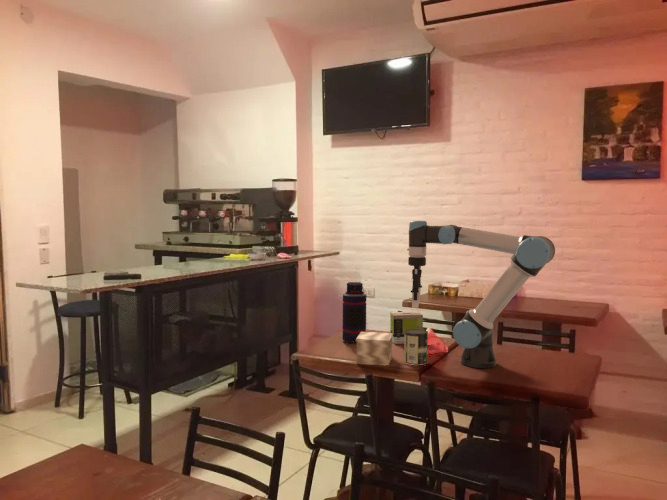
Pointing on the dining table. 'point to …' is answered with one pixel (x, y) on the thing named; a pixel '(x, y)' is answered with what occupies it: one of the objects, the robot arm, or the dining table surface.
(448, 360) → the dining table surface
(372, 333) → the birch box
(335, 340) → the dining table surface
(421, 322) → the tea box
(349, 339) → the red-striped thermos flask
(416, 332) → the coffee can
